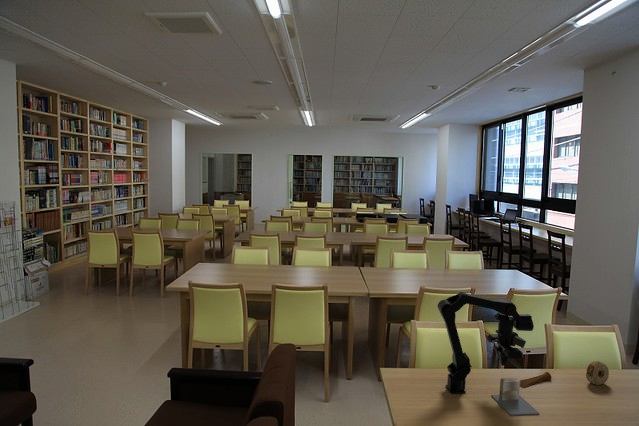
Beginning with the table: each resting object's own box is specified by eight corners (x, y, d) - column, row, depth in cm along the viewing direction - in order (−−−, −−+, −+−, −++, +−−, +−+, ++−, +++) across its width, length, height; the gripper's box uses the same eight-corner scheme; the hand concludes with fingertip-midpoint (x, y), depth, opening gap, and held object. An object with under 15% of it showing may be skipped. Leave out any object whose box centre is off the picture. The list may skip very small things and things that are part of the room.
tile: (502, 400, 169) (503, 381, 168) (499, 396, 171) (500, 378, 170) (518, 399, 169) (520, 381, 169) (515, 396, 172) (516, 378, 171)
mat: (510, 415, 159) (510, 414, 159) (491, 396, 173) (491, 395, 172) (539, 414, 160) (539, 413, 160) (518, 395, 174) (518, 394, 174)
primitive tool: (522, 389, 180) (523, 381, 179) (512, 383, 185) (512, 375, 184) (552, 381, 188) (553, 374, 187) (541, 375, 192) (542, 368, 192)
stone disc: (591, 386, 182) (592, 365, 181) (583, 382, 186) (585, 361, 185) (609, 384, 185) (611, 363, 184) (602, 380, 188) (604, 359, 188)
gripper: (536, 338, 165) (533, 375, 166) (511, 321, 183) (509, 355, 185) (510, 338, 164) (507, 376, 166) (487, 321, 183) (485, 355, 184)
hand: (502, 365), depth 175 cm, fingers closed
